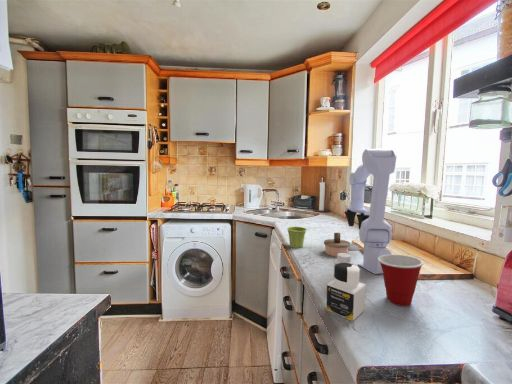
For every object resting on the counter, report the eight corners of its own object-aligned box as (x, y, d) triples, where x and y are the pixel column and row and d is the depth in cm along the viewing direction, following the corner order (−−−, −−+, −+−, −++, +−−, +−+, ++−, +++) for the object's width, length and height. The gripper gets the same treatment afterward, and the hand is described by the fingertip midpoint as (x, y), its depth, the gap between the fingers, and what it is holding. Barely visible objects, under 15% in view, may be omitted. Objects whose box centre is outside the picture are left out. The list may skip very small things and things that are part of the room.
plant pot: (309, 246, 120) (310, 228, 119) (300, 250, 113) (300, 232, 112) (293, 242, 126) (293, 225, 125) (282, 246, 119) (283, 229, 118)
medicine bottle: (325, 310, 64) (327, 265, 63) (339, 300, 69) (340, 258, 68) (352, 322, 59) (354, 273, 58) (364, 310, 64) (366, 265, 63)
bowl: (351, 256, 105) (352, 246, 104) (332, 258, 103) (333, 248, 102) (339, 250, 113) (340, 240, 113) (322, 251, 111) (322, 242, 111)
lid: (356, 246, 104) (356, 235, 103) (333, 249, 101) (333, 237, 101) (340, 240, 114) (340, 229, 114) (319, 241, 111) (319, 231, 111)
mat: (366, 250, 113) (366, 249, 113) (343, 252, 110) (343, 251, 110) (350, 243, 124) (350, 242, 124) (329, 245, 122) (329, 244, 121)
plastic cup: (381, 287, 77) (382, 249, 76) (423, 299, 70) (425, 257, 69) (371, 301, 68) (373, 259, 67) (418, 316, 61) (420, 269, 61)
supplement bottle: (348, 282, 80) (349, 251, 79) (355, 291, 75) (356, 257, 74) (331, 282, 80) (332, 251, 79) (336, 290, 75) (337, 257, 74)
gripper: (375, 200, 108) (374, 231, 109) (354, 197, 122) (354, 224, 123) (361, 200, 106) (360, 231, 107) (342, 197, 120) (341, 225, 121)
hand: (356, 228), depth 115 cm, fingers open, 7 cm apart
